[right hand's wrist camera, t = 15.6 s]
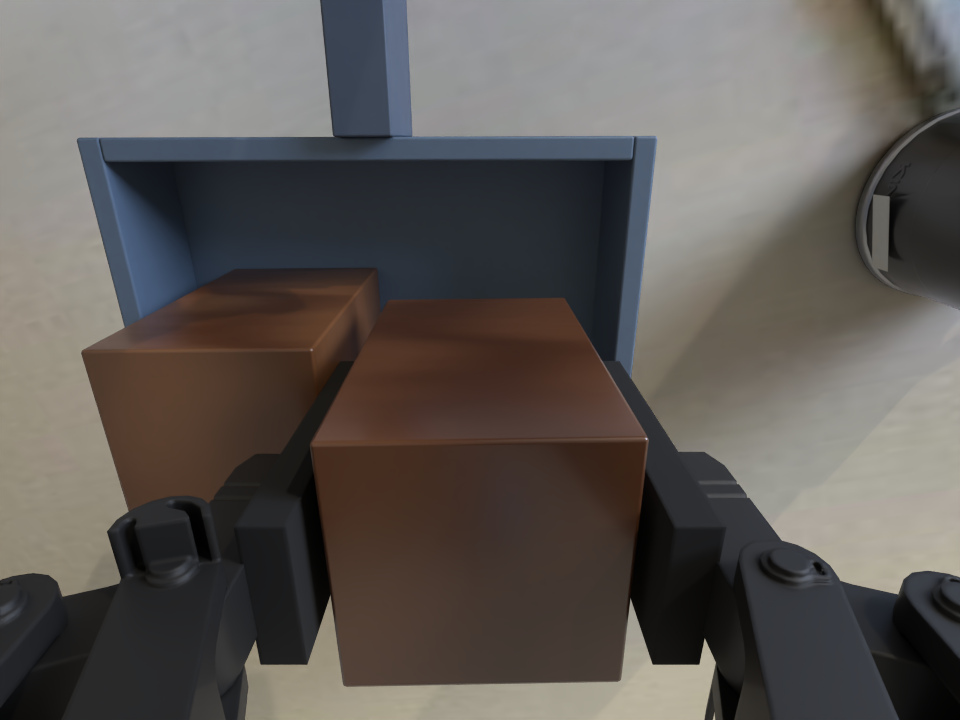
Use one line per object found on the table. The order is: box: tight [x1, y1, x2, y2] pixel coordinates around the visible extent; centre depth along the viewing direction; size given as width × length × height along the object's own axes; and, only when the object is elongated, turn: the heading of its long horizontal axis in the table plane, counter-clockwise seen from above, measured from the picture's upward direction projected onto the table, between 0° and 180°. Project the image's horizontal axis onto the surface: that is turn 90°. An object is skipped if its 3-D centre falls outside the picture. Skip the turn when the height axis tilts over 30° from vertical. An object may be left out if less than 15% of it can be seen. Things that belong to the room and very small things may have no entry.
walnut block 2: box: [310, 298, 649, 687], centre depth 13 cm, size 5×5×8 cm
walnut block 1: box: [81, 268, 381, 511], centre depth 16 cm, size 5×5×8 cm
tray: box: [77, 0, 657, 378], centre depth 16 cm, size 15×27×5 cm, turn 0°
